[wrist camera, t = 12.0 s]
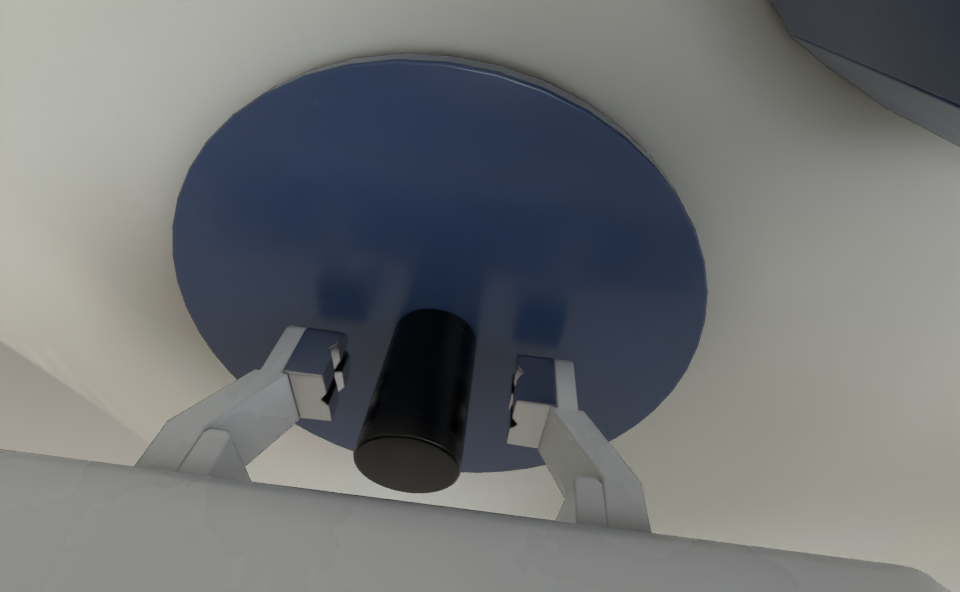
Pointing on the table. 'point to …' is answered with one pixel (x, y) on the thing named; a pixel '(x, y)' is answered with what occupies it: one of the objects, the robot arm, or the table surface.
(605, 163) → the lid
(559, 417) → the robot arm
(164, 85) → the table surface
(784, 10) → the pot
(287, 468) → the table surface
